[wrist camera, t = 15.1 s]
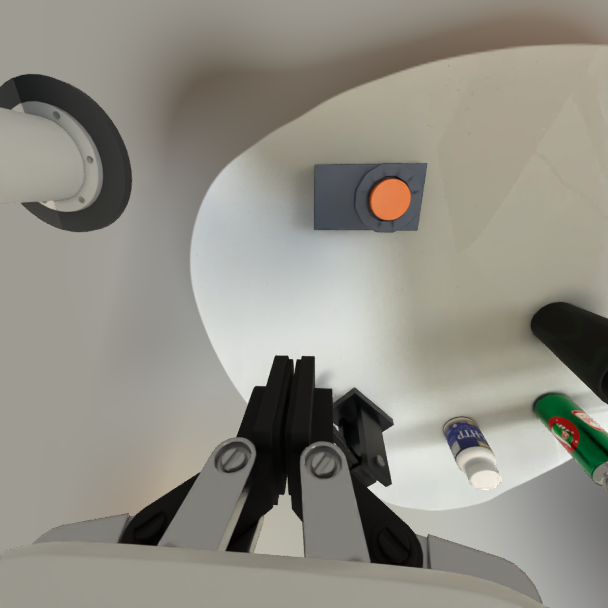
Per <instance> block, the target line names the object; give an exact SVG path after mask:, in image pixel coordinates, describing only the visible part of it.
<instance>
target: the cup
mask: <svg viewBox="0 0 608 608" xmlns="http://www.w3.org/2000/svg"><path fill="white" fill-rule="evenodd" d="M531 330H532V332H533V333H534V335H535V336H536V337H537V338H538V339H539V340H540V341H542V342H543V343H544V344H545V345H546V346H547V347H548V348H549V349H550V350H551V351H552V352H553V353H554V354H555V355H556V356H557V357H558V358H559V359H560V360H561V361H562V362H563V363H564V364H565V365H566V366H567V367H568V368H569V369H570V370H571V371H572V372H573V373H574V374H575V375H576V376H577V377H578V378H580V379H581V380H582V381H583V382H584V383H585V384H586V385H587V386H588V387H589V388H590V389H591V390H592V391H593V392H594V393H595V394H596V395H597V396H598V397H599V398H600V399H601V400H602V401H603V402H605V403H607V404H608V319H607V318H605V317H602V316H600V315H597V314H594V313H592V312H589V311H587V310H584V309H581V308H579V307H576V306H574V305H571V304H568V303H564V302H557V303H552V304H549V305H547V306H545V307H543V308H541V309H540V310H539V311H538V312H537V313H536V314H535V315H534V317H533V319H532V321H531Z"/></svg>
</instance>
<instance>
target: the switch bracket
mask: <svg viewBox="0 0 608 608" xmlns="http://www.w3.org/2000/svg"><path fill="white" fill-rule="evenodd" d="M333 423H334V424H335V425H337V426H338V427H339V433H340V434H341V435H342V436H343V438H344V439H345V440H346V441H347V442H348V444H349V445H350V446H351V447H352V448H353V450H354V451H355V452H356V453H357V454H358V456H361V459H362V468H363V470H364V471H365V472H367V473H368V474H369V475H371V476H372V477H373V478H375V479H376V480H377V481H379V482H380V483H381V484H383V485H384V486H385V487H387V486H389V485H391V484H392V482H391V476H390V471H389V466H388V461H387V456H386V451H385V446H384V441H383V435H382V432H383V431H385V430H386V429H388V428H390V427H391V426H393V425H394V423H393V419H392V418H390V417H389V416H388V415H387V414H386V413H384V412H383V411H382V410H381V409H380V408H378V407H377V406H376V405H375V404H374V403H372V402H371V401H370V400H369V399H368V398H366V397H365V396H364V395H363V394H362V393H360V392H359V391H358V390H357V389H356V388H354V389H352V390H351V391H350V392H348V393H347V394H346V395H344V396H343V397H342V398H340V399H339V400H338V401H336V402H335V403H334V404H333ZM345 457H346V456H345ZM346 460H347V464H348V468H349V472H350V469H351V466H352V464H351V462H350V461H349V460H348V459H347V458H346Z"/></svg>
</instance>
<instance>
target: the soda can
mask: <svg viewBox="0 0 608 608" xmlns="http://www.w3.org/2000/svg"><path fill="white" fill-rule="evenodd" d="M535 414H536V416H537V417H538V418H539V419H540V420H541V421H542V423H543V424H544V425H545V426H546V427H547V428H548V429H549V431H550V432H551V433H552V434H553V435H554V436H555V438H556V439H557V440H558V441H559V442H560V443H561V444H562V446H563V447H564V448H565V449H566V450H567V451H568V452H569V454H570V455H571V456H572V457H573V458H574V459H575V461H576V462H577V463H578V464H579V465H580V466H581V467H582V469H584V471H585V472H586V473H587V474H588V475H589V477H590V478H591V479H592V480H593V481H594V482H595V483H596V484H598V485H600V486H603V488H604V489H606V490H607V491H608V433H607V432H606V431H605V430H604V429H603V428H602V427H601V426H600V425H598V424H597V423H596V422H595V421H594V420H593V419H592V418H591V417H590V416H589V415H588V414H586V413H585V412H584V411H583V410H582V409H581V408H580V407H579V406H578V405H577V404H576V403H574V402H573V401H572V400H571V399H570V398H569V397H567V396H565V395H561V394H550V395H546V396H544V397H542V398H540V399H539V400H538V401H537V403H536V405H535Z"/></svg>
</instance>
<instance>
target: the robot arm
mask: <svg viewBox="0 0 608 608" xmlns="http://www.w3.org/2000/svg"><path fill="white" fill-rule="evenodd" d="M102 183H103V167H102V163H101V158H100V155H99V153H98V150H97V147H96V145H95V144H94V142H93V140H92V138H91V136H90V135H89V134H88V132H87V131H86V130H85V128H84V127H83V126H82V125H81V124H80V123H79V122H78V121H77V120H76V119H75V118H74V117H72V116H71V115H70V114H69V113H67V112H66V111H64V110H62V109H60V108H58V107H56V106H53V105H50V104H47V103H42V102H37V101H30V102H24V103H21V104H18V105H17V106H15V107H14V108H13V109H12V110H9V109H5V108H0V204H7V203H23V202H39V203H41V204H42V205H44V206H46V207H48V208H50V209H54V210H57V211H63V212H73V211H79V210H83V209H85V208H87V207H89V206H90V205H92V204H93V203H94V202H95V201H96V199H97V197H98V196H99V194H100V191H101V188H102ZM287 478H288V492H289V495H291V502H292V510H293V511H294V512H295V513H296V515H297V516H298V517H299V519H300V520H301V521H302V526H303V541H304V558H303V557H291V556H279V555H266V554H253V553H254V550H255V547H256V543H257V541H258V538H259V534H260V531H261V528H262V525H263V521H264V515H265V514H266V513H267V512H268V511H269V510H271V509H272V508H273V505H278V498H279V495H284V493H285V488H286V480H287ZM0 608H548V607H547V606H544V605H543V603H542V600H541V598H540V596H539V593H538V591H537V589H536V587H535V585H534V584H533V582H532V581H531V580H530V579H529V578H528V576H527V575H526V574H525V573H524V572H523V571H522V570H521V569H520V568H519V567H517V566H516V565H515V564H514V563H512V562H510V561H507V560H506V559H504V558H501V557H498V556H495V555H491V554H489V553H485V552H482V551H479V550H476V549H473V548H470V547H466V546H463V545H461V544H457V543H454V542H451V541H448V540H445V539H442V538H439V537H436V536H432V535H429V534H428V536H427V538H426V537H423V536H420V535H417V534H415V533H414V532H413V531H412V529H411V528H410V527H409V526H408V525H407V524H406V523H405V522H403V521H402V520H401V519H400V518H399V517H398V516H397V515H396V514H395V513H394V512H393V511H392V510H390V508H388V507H387V506H386V505H385V504H384V503H383V502H382V501H381V500H380V499H379V498H378V497H377V496H375V495H374V494H373V493H372V492H371V491H370V490H369V489H368V488H367V487H366V486H365V485H364V484H362V483H361V482H360V481H359V480H358V479H357V478H356V477H355V476H354V475H353V474H352V473H351V472H349V468H348V464H347V460H346V457H345V455H344V452H343V451H342V450H341V449H340V448H339V447H338V446H336V445H335V444H334V435H333V397H332V389H329V388H315V356H302V358H301V359H297V361H296V367H295V373H294V364H293V359H289V357H288V356H277V355H276V356H275V358H274V361H273V364H272V368H271V371H270V375H269V378H268V381H267V385H266V386H255V387H254V389H253V392H252V394H251V397H250V400H249V403H248V406H247V409H246V411H245V415H244V417H243V420H242V423H241V426H240V428H239V431H238V434H237V437H236V438H231V439H228V440H226V441H224V442H222V443H221V444H220V445H218V446H217V447H216V448H215V450H214V451H213V452H212V454H211V456H210V457H209V459H208V461H207V463H206V464H205V466H204V467H203V469H202V471H201V472H200V473H198V474H196V475H195V476H193V477H192V478H191V479H189V480H187V481H186V482H184V483H183V484H181V485H179V486H178V487H176V488H175V489H173V490H172V491H170V492H169V493H167V494H166V495H164V496H162V497H161V498H159V499H158V500H156V501H155V502H153V503H151V504H150V505H149V506H147V507H145V508H144V509H143V510H141V511H140V512H139V513H138V514H136V515H135V516H131V517H130V515H129V513H127V514H121V515H116V516H111V517H105V518H99V519H94V520H88V521H83V522H77V523H72V524H67V525H62V526H59V527H56V528H53V529H51V530H50V531H48V532H46V533H45V534H43V535H42V536H41V537H39V538H38V539H37V540H36V541H35V542H34V543H33V544H31V545H26V546H21V547H17V548H14V549H10V550H6V551H3V552H0Z"/></svg>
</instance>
